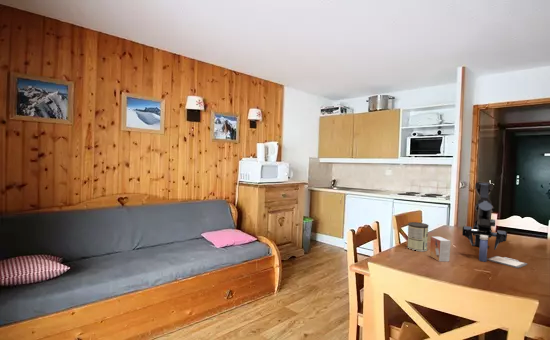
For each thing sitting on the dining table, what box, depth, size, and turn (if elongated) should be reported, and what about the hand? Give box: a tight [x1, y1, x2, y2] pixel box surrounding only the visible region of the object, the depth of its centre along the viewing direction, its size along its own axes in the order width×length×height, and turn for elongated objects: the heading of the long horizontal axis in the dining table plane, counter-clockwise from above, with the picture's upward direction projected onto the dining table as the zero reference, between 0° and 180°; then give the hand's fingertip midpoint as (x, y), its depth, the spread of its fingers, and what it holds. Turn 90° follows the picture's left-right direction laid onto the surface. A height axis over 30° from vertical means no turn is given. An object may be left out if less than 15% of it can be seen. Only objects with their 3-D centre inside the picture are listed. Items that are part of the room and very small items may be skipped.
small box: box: [429, 236, 452, 262], centre depth 152 cm, size 8×6×10 cm
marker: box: [478, 234, 489, 263], centre depth 151 cm, size 3×3×13 cm
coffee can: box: [406, 221, 430, 252], centre depth 168 cm, size 10×10×14 cm
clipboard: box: [487, 255, 528, 269], centre depth 150 cm, size 11×13×1 cm
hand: (483, 247), depth 150 cm, fingers open, 9 cm apart
